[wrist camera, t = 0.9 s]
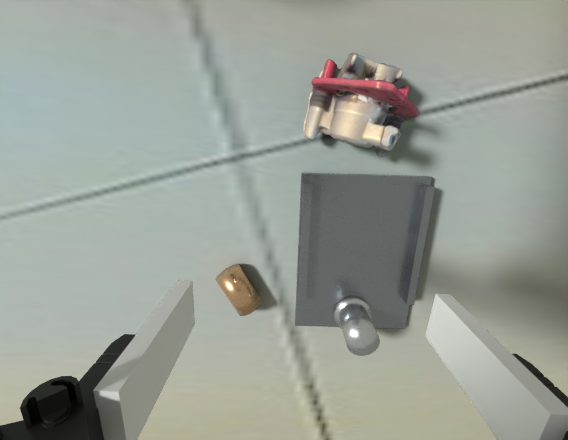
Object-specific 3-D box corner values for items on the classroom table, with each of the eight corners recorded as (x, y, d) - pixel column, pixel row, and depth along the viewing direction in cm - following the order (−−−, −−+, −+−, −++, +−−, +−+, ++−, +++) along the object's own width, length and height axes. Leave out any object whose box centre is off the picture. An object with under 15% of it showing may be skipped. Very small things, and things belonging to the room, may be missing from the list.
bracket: (301, 172, 34) (304, 180, 28) (428, 176, 34) (462, 184, 27) (295, 321, 40) (296, 357, 34) (402, 324, 40) (425, 361, 34)
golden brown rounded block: (219, 271, 38) (212, 284, 35) (241, 260, 38) (236, 272, 34) (241, 304, 40) (236, 319, 36) (262, 294, 39) (259, 308, 36)
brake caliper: (433, 50, 28) (456, 112, 21) (381, 135, 37) (385, 200, 30) (330, 15, 28) (317, 68, 20) (301, 111, 36) (286, 171, 29)
